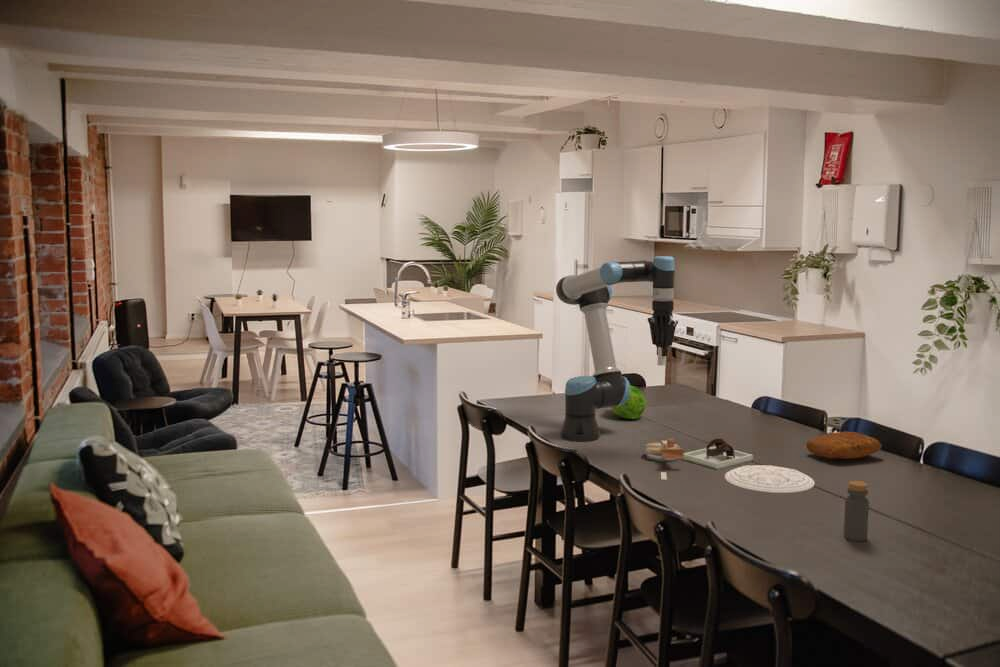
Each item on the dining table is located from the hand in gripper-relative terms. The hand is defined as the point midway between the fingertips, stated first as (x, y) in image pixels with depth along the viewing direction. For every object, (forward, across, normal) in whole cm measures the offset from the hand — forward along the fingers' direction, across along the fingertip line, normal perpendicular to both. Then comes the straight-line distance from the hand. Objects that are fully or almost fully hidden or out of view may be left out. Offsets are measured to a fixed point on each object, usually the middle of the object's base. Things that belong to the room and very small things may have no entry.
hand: (661, 364), depth 320 cm
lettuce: (+33, -51, +31) cm, 68 cm away
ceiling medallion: (+33, +45, +4) cm, 56 cm away
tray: (+32, +19, +9) cm, 39 cm away
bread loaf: (+33, +44, +47) cm, 72 cm away
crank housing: (+32, +5, -4) cm, 33 cm away
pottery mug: (+32, +20, +10) cm, 39 cm away
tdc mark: (+32, +22, -21) cm, 44 cm away
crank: (+30, +9, -7) cm, 32 cm away
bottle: (+33, +92, -21) cm, 100 cm away
